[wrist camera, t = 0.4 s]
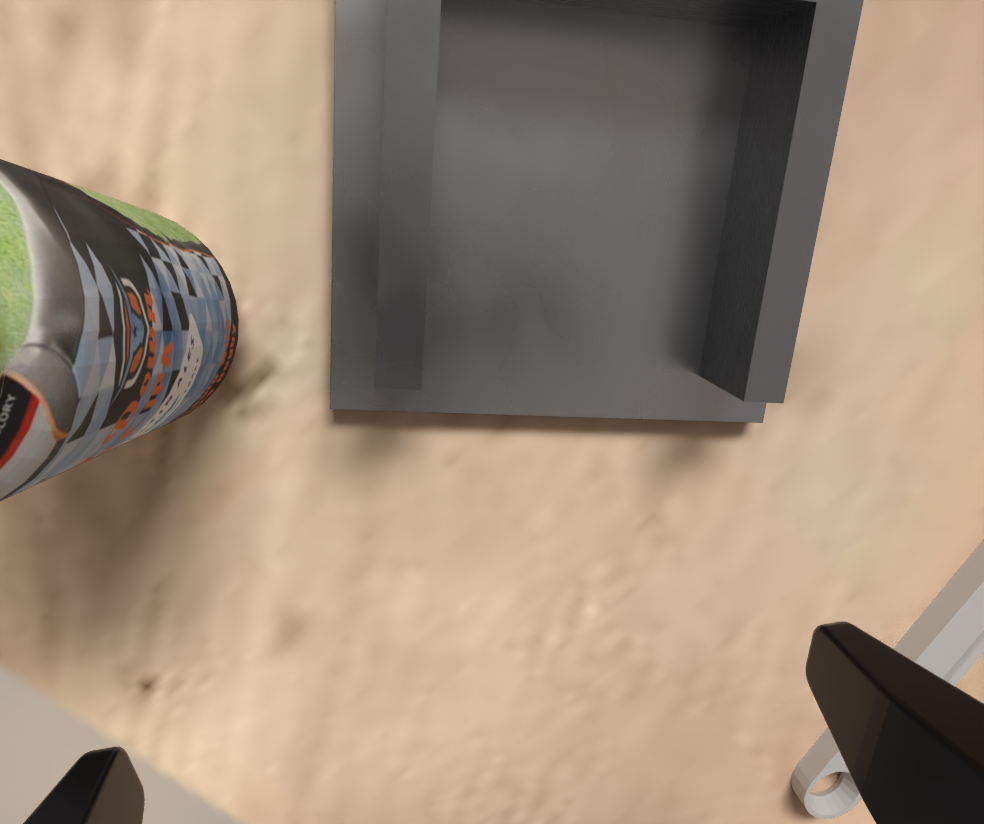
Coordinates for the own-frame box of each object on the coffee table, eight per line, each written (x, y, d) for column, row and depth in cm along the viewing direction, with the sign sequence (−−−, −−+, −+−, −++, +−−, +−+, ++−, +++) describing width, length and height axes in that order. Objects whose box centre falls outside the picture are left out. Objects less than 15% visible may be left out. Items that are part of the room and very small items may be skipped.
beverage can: (114, 448, 22) (-183, 729, 10) (-61, 228, 19) (-700, 277, 8) (294, 345, 22) (195, 515, 10) (140, 112, 19) (-212, -9, 8)
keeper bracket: (750, 415, 24) (814, 453, 21) (331, 401, 22) (322, 442, 19) (840, -63, 20) (938, -118, 17) (339, -140, 18) (328, -223, 15)
